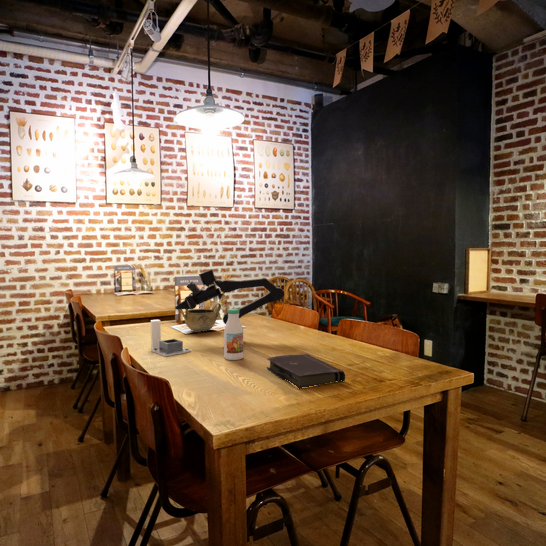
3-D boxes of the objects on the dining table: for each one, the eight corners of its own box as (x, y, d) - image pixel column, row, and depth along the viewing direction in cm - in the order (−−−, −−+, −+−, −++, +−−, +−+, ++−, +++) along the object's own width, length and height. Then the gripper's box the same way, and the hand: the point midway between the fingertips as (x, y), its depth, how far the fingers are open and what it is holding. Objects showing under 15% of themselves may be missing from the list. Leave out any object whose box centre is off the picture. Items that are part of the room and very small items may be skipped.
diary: (308, 365, 166) (308, 352, 166) (345, 384, 143) (345, 369, 143) (264, 370, 158) (264, 357, 158) (295, 391, 136) (296, 375, 135)
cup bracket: (176, 346, 193) (176, 337, 193) (190, 351, 184) (190, 341, 184) (151, 351, 185) (151, 341, 185) (165, 356, 176) (165, 345, 176)
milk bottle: (220, 359, 172) (220, 309, 171) (231, 354, 179) (230, 307, 178) (236, 361, 169) (236, 311, 167) (246, 357, 175) (246, 308, 174)
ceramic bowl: (183, 336, 216) (183, 306, 215) (175, 330, 231) (175, 302, 230) (225, 332, 226) (225, 303, 225) (215, 326, 241) (215, 300, 240)
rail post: (159, 346, 193) (158, 319, 192) (160, 348, 190) (160, 320, 189) (151, 347, 192) (150, 320, 191) (152, 349, 188) (152, 321, 188)
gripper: (202, 277, 213) (173, 289, 213) (198, 280, 195) (166, 293, 194) (211, 297, 214) (182, 309, 214) (208, 302, 196) (176, 316, 195)
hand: (177, 306), depth 204 cm, fingers open, 9 cm apart
